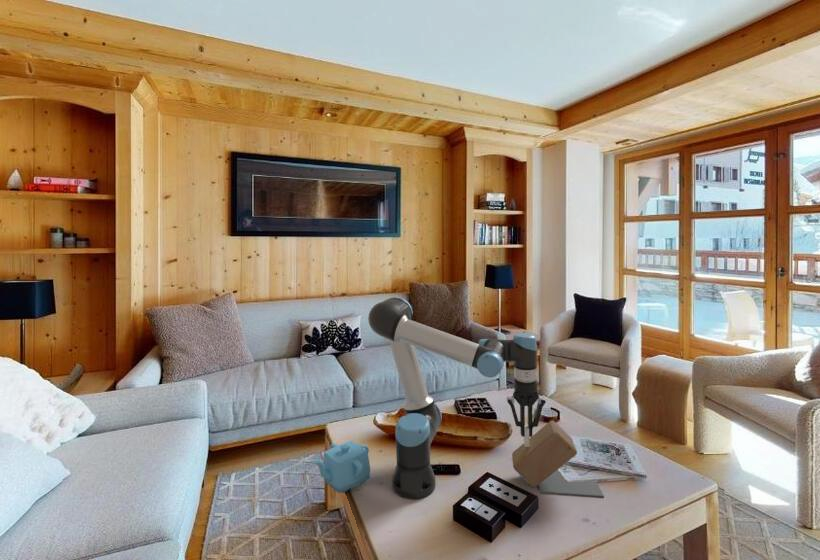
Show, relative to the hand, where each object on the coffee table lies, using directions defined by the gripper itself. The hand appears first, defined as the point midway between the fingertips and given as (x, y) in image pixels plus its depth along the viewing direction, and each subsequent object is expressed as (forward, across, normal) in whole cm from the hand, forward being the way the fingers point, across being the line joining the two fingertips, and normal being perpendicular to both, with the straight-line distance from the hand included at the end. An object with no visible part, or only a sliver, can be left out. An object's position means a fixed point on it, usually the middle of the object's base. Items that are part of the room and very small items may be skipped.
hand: (526, 444), depth 135 cm
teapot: (+12, -64, -9) cm, 66 cm away
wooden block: (+10, -2, 0) cm, 10 cm away
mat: (+14, +13, +1) cm, 19 cm away
